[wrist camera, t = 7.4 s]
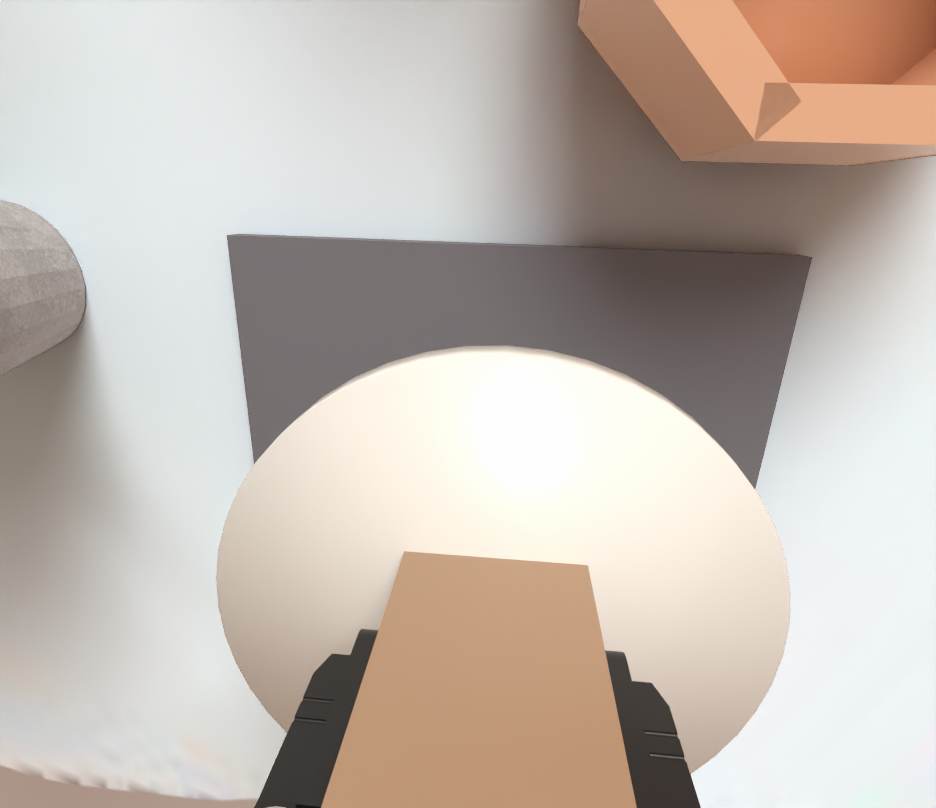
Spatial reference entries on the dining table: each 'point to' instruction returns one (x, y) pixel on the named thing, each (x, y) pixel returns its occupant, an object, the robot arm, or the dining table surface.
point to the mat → (518, 320)
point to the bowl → (776, 76)
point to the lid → (502, 577)
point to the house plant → (35, 287)
